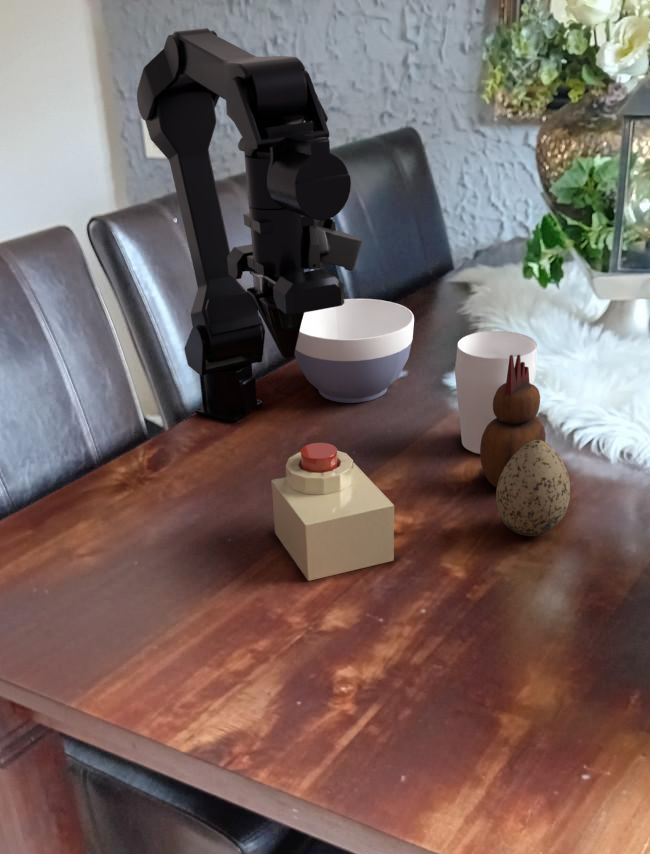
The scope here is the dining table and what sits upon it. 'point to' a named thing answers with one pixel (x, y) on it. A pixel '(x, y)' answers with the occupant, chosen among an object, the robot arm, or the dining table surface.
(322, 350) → the bowl
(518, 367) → the wooden figurine
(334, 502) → the button base
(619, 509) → the dining table surface
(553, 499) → the decorative egg
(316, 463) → the red push button
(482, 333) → the cup
